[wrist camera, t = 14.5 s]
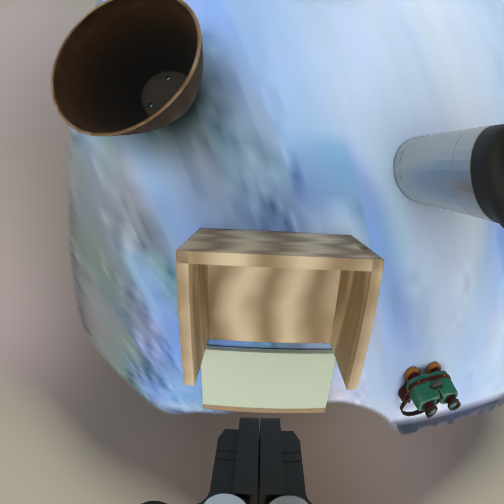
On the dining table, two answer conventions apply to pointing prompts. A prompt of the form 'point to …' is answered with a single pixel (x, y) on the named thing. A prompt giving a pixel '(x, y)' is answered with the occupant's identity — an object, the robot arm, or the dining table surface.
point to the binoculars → (428, 390)
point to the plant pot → (128, 67)
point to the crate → (277, 293)
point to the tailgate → (266, 379)
